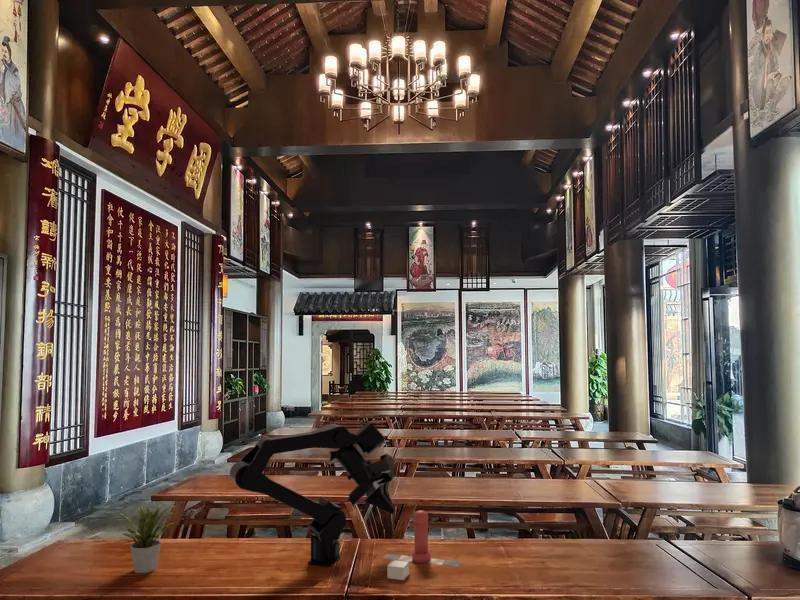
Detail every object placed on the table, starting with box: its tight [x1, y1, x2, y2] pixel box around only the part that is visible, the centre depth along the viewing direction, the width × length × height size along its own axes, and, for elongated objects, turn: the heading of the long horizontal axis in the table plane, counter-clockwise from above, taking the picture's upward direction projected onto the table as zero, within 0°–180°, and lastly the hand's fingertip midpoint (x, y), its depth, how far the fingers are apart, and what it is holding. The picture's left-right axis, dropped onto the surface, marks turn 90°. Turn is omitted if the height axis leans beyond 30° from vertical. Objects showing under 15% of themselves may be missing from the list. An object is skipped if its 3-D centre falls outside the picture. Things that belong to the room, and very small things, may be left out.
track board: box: [382, 553, 462, 567], centre depth 157 cm, size 20×8×1 cm, turn 71°
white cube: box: [386, 559, 410, 581], centre depth 146 cm, size 4×4×4 cm
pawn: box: [411, 509, 432, 564], centre depth 157 cm, size 5×5×12 cm
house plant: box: [118, 502, 178, 574], centre depth 156 cm, size 14×14×16 cm
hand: (394, 512), depth 159 cm, fingers closed
